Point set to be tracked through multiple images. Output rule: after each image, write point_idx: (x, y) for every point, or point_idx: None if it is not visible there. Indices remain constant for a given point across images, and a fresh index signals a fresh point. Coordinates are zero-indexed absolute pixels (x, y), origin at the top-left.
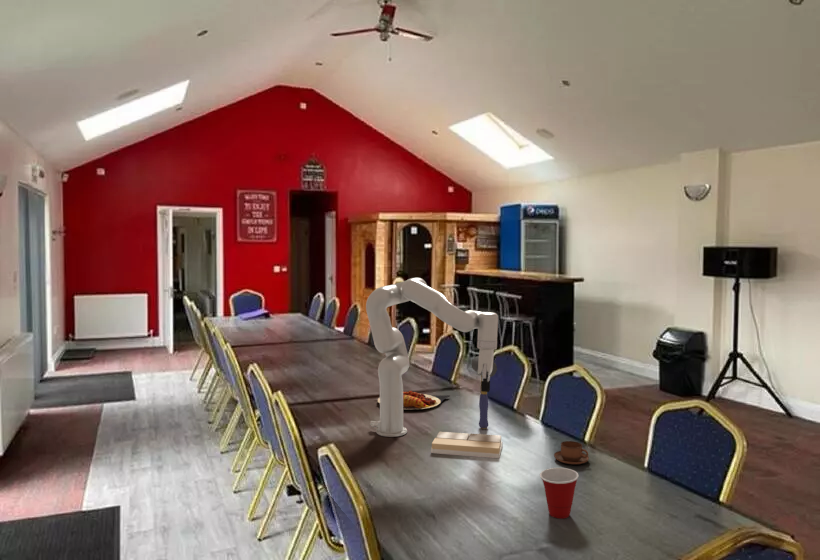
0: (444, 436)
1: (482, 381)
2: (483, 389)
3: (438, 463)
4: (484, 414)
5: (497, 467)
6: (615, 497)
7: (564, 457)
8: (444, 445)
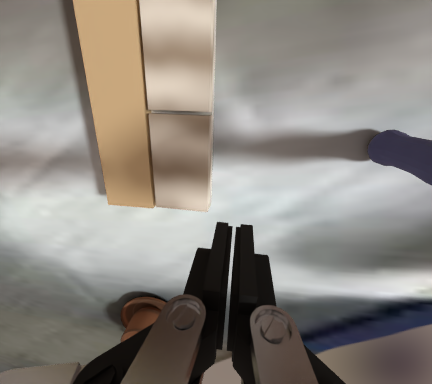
0: (158, 11)
1: (183, 300)
2: (199, 248)
3: (22, 36)
4: (399, 161)
5: (66, 192)
6: (34, 335)
7: (135, 312)
8: (80, 32)
